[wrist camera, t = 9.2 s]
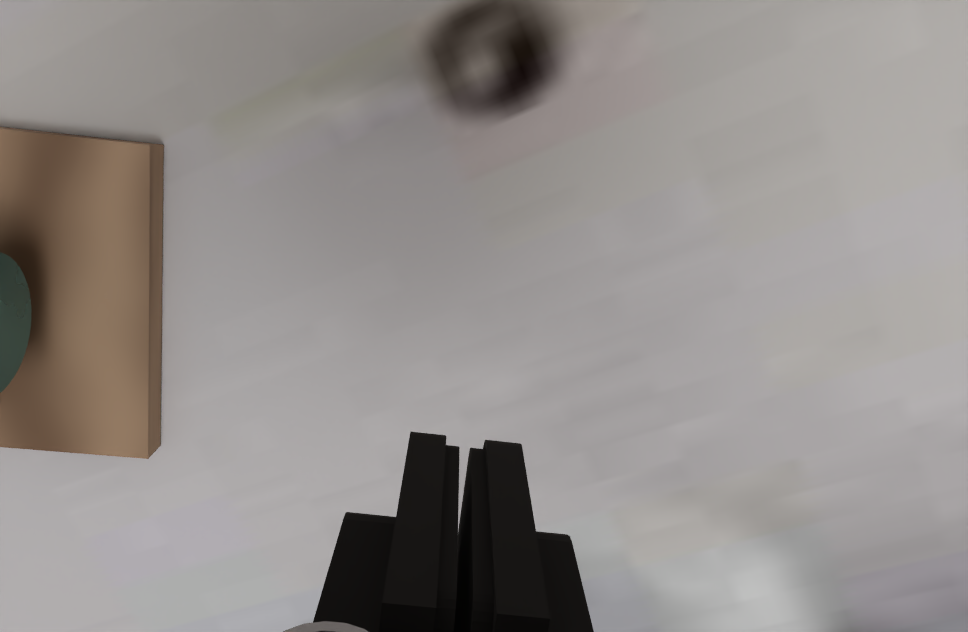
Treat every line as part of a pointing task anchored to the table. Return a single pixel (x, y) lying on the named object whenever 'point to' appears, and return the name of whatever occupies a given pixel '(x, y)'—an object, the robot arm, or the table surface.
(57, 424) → the shaft bracket
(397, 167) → the table surface
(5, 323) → the shaft
